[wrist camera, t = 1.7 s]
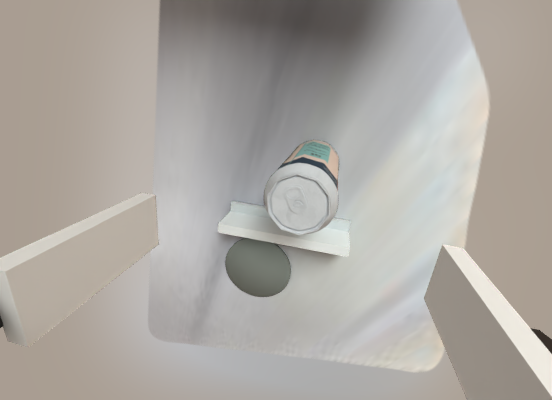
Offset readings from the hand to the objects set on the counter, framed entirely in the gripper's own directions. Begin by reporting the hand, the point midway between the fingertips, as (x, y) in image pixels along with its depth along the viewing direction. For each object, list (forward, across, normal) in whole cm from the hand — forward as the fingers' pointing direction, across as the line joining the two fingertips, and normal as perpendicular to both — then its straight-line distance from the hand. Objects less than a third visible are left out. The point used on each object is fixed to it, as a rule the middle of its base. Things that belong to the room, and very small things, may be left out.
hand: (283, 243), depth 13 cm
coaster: (+16, -5, -13) cm, 22 cm away
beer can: (+17, 0, 0) cm, 17 cm away
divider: (+16, -2, -7) cm, 18 cm away
